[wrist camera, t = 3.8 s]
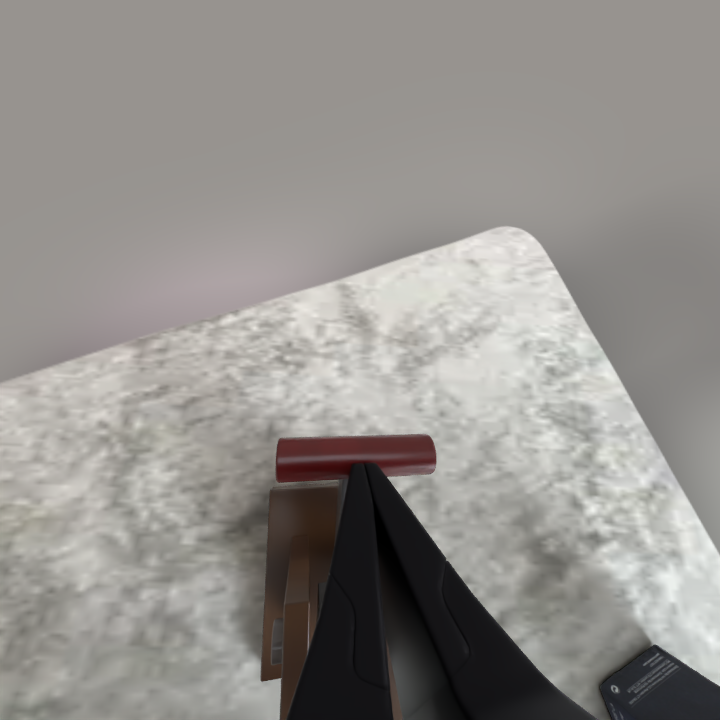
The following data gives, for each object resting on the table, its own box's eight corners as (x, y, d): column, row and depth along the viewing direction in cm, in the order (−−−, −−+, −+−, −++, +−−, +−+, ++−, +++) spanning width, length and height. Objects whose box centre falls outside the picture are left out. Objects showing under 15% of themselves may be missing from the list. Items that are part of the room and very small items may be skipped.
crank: (281, 423, 10) (273, 464, 8) (419, 420, 11) (446, 456, 9) (281, 629, 13) (276, 700, 11) (390, 613, 15) (405, 675, 12)
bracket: (272, 486, 19) (248, 527, 11) (384, 479, 21) (434, 512, 13) (263, 665, 17) (225, 878, 9) (390, 643, 18) (456, 808, 10)
